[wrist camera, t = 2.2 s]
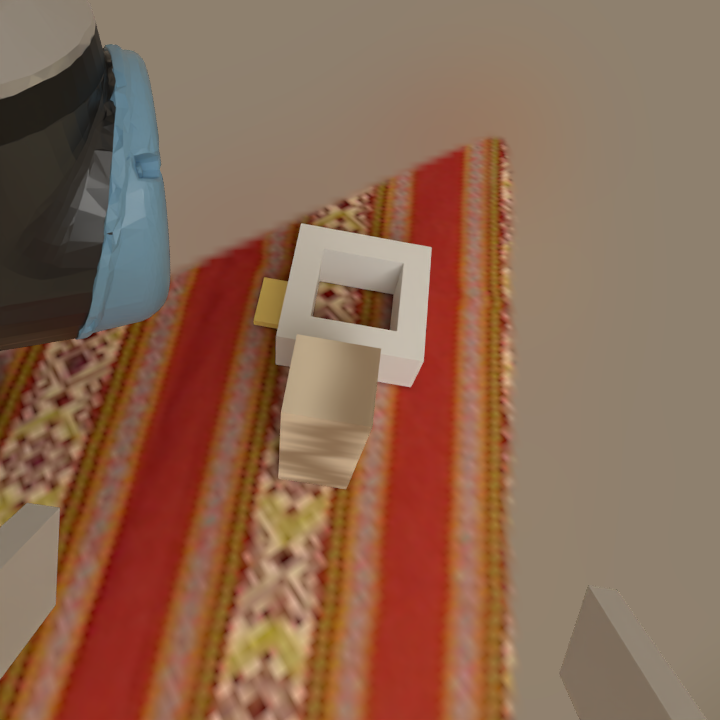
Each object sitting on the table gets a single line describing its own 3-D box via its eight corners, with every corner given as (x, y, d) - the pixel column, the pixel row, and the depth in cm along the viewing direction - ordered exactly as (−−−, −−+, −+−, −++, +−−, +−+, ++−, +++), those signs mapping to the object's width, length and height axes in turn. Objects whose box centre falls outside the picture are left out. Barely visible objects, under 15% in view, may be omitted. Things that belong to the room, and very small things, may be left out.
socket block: (245, 359, 41) (242, 330, 37) (271, 252, 46) (271, 217, 42) (410, 387, 42) (423, 361, 38) (419, 279, 46) (431, 247, 43)
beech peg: (278, 478, 37) (280, 412, 27) (290, 415, 39) (296, 334, 30) (346, 489, 37) (372, 426, 28) (354, 426, 39) (381, 348, 30)
